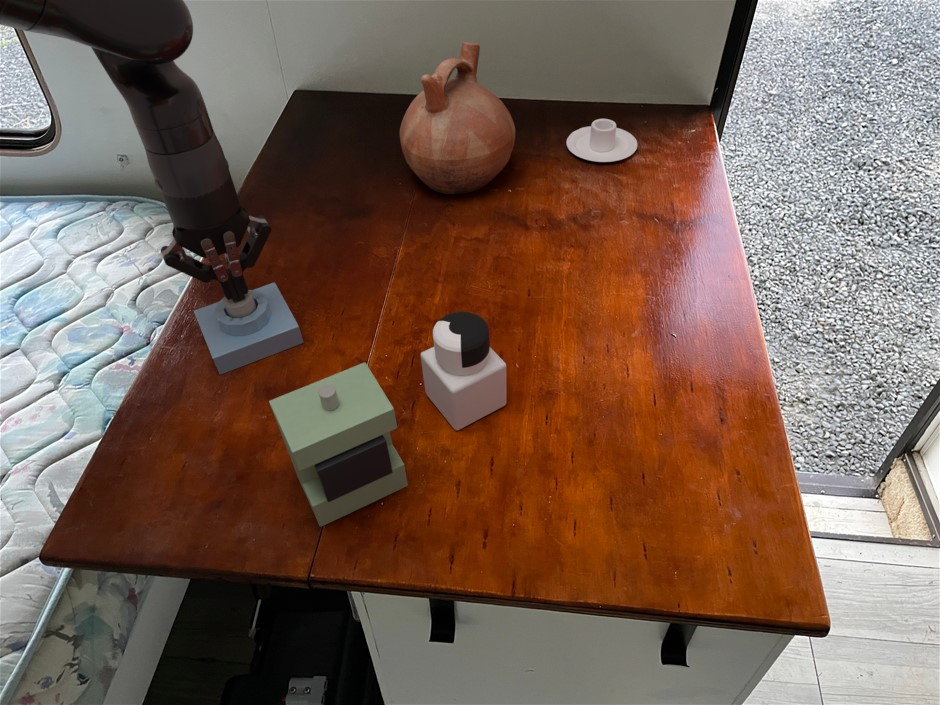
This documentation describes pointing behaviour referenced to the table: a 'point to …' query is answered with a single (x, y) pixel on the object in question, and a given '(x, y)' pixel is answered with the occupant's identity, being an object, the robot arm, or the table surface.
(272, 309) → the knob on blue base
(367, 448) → the paddle
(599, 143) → the candle holder
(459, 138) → the jug
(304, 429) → the green block with peg
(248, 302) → the short grey cylinder plug
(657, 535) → the table surface
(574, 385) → the table surface
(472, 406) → the medicine bottle
